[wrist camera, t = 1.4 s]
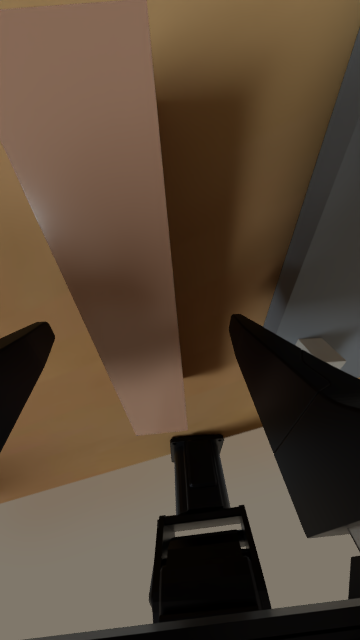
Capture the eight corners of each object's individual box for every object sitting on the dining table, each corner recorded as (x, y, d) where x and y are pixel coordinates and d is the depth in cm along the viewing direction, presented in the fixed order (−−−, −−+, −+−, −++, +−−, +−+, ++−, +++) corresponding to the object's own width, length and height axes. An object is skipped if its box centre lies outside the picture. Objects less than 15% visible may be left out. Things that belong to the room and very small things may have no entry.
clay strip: (182, 375, 16) (187, 430, 12) (143, 379, 16) (136, 435, 12) (156, 103, 7) (146, -2, 3) (63, 111, 7) (-58, 13, 3)
